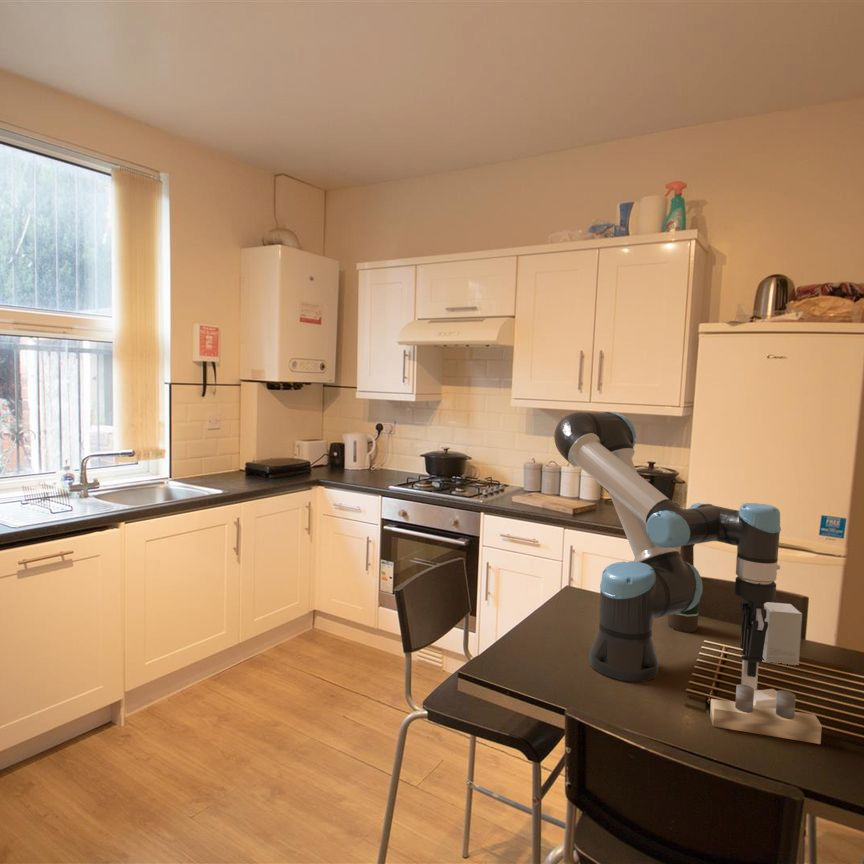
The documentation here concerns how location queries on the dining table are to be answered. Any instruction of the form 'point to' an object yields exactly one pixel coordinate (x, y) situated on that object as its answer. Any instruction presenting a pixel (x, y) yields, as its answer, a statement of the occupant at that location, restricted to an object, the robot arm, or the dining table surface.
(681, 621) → the beer bottle
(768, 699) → the soap bar
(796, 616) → the supplement box
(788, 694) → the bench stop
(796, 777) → the dining table surface
